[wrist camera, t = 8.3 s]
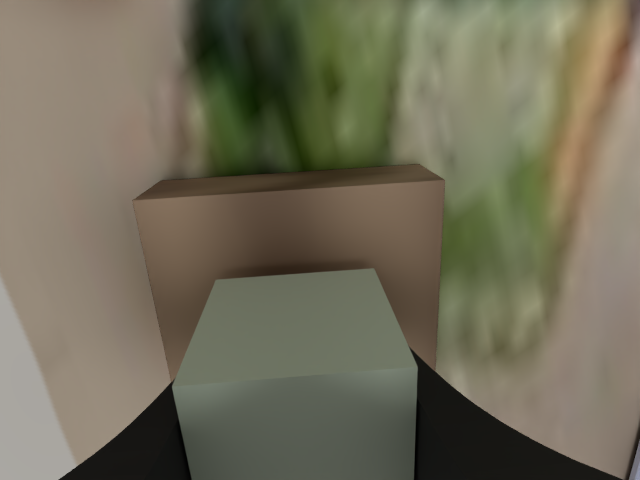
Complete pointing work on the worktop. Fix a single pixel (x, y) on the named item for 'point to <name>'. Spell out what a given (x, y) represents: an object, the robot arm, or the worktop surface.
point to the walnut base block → (294, 240)
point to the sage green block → (298, 381)
